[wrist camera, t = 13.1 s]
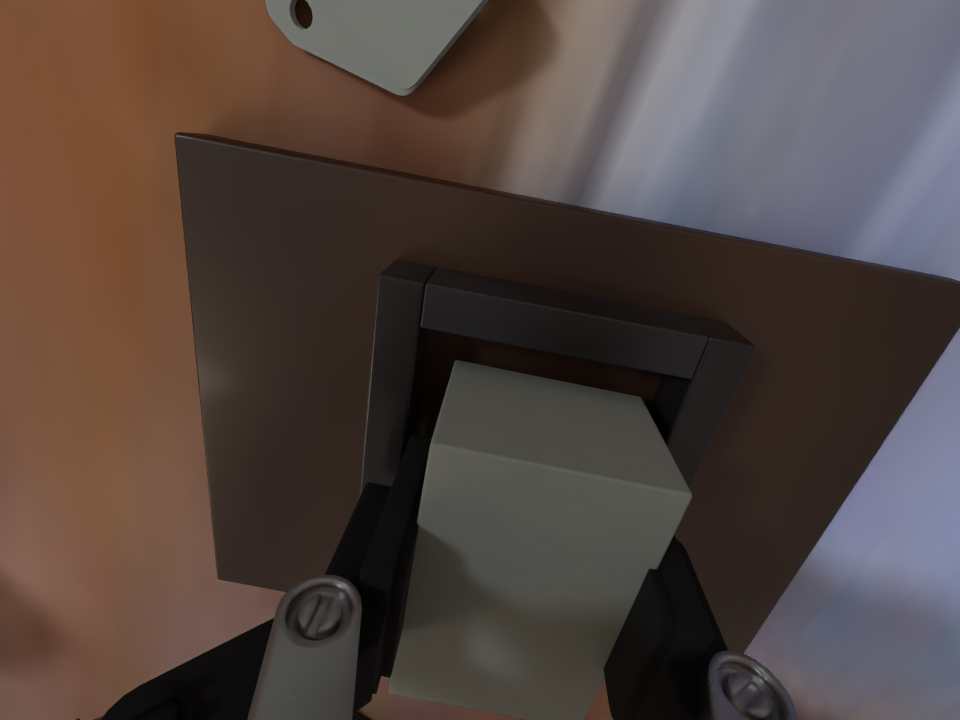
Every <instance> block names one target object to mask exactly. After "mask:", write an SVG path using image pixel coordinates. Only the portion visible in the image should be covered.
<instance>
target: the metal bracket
mask: <svg viewBox="0 0 960 720" xmlns="http://www.w3.org/2000/svg"><path fill="white" fill-rule="evenodd" d="M297 1H298V0H266V7H267V11H268V14H269V15H270V17H271V19H272V20H273V22H274V23H275V24H276V25H277V26H278V27H279V29H280V30H281V31H282V32H283V33H284V35H285V36H286V37H287V38H288V39H289V40H290V42H291V43H292V44H293V45H295V46H297V47H300V48H302V49H304V50H306V51H308V52H310V53H312V54H314V55H316V56H318V57H320V58H322V59H324V60H326V61H328V62H330V63H332V64H334V65H337V66H339V67H341V68H343V69H345V70H347V71H349V72H351V73H353V74H355V75H357V76H359V77H361V78H363V79H365V80H367V81H369V82H372V83H374V84H376V85H378V86H380V87H382V88H384V89H386V90H388V91H390V92H392V93H394V94H396V95H400V96H404V95H409V94H412V93H413V92H414V91H415V90H416V89H417V88H418V87H419V86H420V84H421V83H422V82H423V81H424V79H425V78H426V77H427V76H428V75H429V73H430V72H431V71H432V70H433V68H434V67H435V66H436V65H437V64H438V62H439V61H440V60H441V59H442V57H443V56H444V55H445V54H446V52H447V51H448V50H449V49H450V48H451V46H452V45H453V44H454V43H455V41H456V40H457V39H458V38H459V37H460V35H461V34H462V33H463V32H464V30H465V29H466V28H467V27H468V26H469V24H470V23H471V22H472V21H473V19H474V18H475V17H476V16H477V14H478V13H479V12H480V11H481V10H482V8H483V7H484V6H485V5H486V3H487V2H488V1H489V0H306V1H307V2H308V4H309V6H310V7H311V9H312V15H313V20H312V23H311V26H310V27H309V28H307V29H305V28H303V27H302V26H301V25H300V24H299V22H298V20H297V19H296V15H295V5H296V2H297Z"/></svg>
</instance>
